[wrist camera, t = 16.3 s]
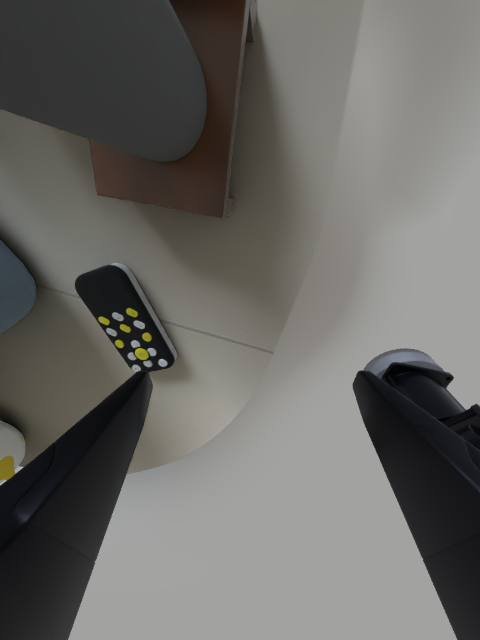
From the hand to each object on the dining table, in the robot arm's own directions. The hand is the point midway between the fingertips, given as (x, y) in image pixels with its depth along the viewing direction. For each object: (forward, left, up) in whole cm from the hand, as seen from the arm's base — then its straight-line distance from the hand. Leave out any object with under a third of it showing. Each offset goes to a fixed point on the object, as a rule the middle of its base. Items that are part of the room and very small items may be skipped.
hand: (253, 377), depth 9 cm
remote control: (+13, +7, -13) cm, 20 cm away
